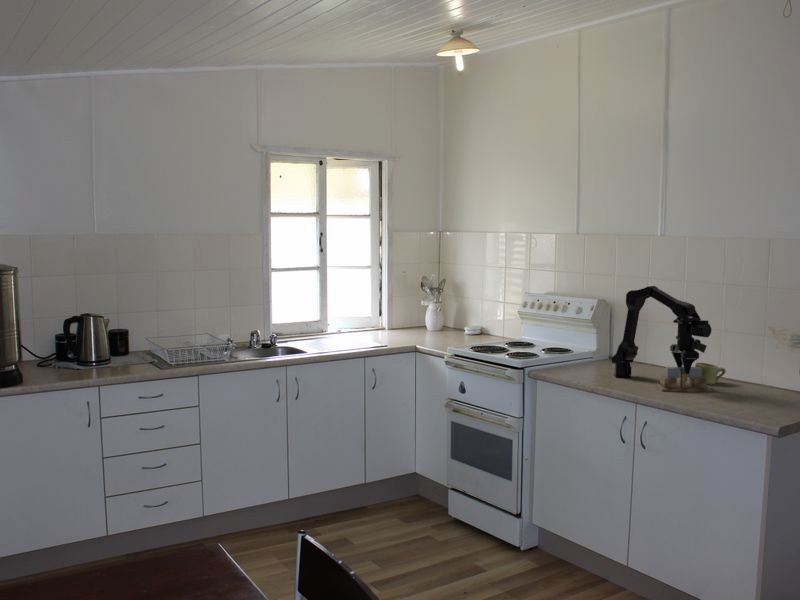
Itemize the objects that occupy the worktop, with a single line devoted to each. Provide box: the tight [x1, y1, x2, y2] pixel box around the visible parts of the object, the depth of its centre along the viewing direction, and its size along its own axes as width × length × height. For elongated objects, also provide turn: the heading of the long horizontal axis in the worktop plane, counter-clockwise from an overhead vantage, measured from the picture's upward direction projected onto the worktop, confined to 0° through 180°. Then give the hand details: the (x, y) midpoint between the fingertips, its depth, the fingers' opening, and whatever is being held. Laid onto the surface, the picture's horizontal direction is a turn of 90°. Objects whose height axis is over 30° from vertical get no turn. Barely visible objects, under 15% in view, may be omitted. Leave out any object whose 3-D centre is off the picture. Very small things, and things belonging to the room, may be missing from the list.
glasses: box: [664, 366, 702, 379], centre depth 313 cm, size 14×3×4 cm, turn 87°
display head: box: [655, 372, 712, 393], centre depth 313 cm, size 20×9×7 cm, turn 87°
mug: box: [694, 362, 727, 386], centre depth 324 cm, size 12×10×10 cm
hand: (683, 371), depth 313 cm, fingers open, 9 cm apart
